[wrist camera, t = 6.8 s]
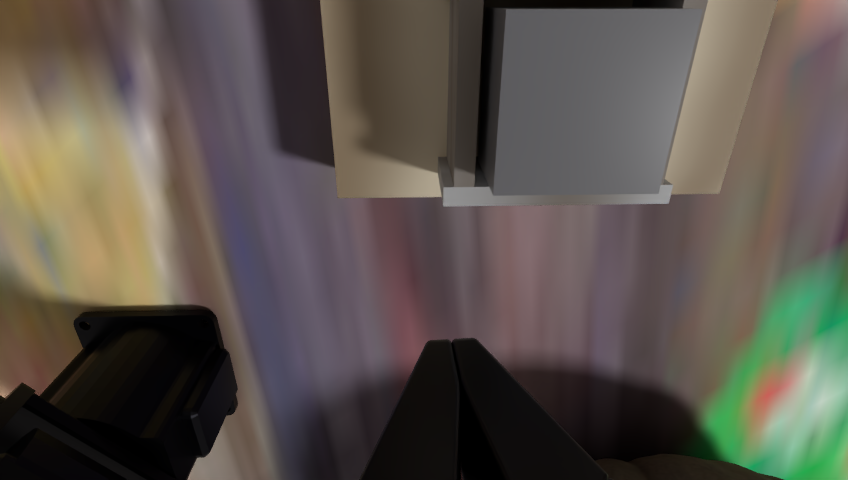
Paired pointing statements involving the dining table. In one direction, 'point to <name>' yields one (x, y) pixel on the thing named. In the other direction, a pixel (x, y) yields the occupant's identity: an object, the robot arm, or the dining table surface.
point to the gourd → (677, 469)
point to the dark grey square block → (581, 97)
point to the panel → (462, 90)
